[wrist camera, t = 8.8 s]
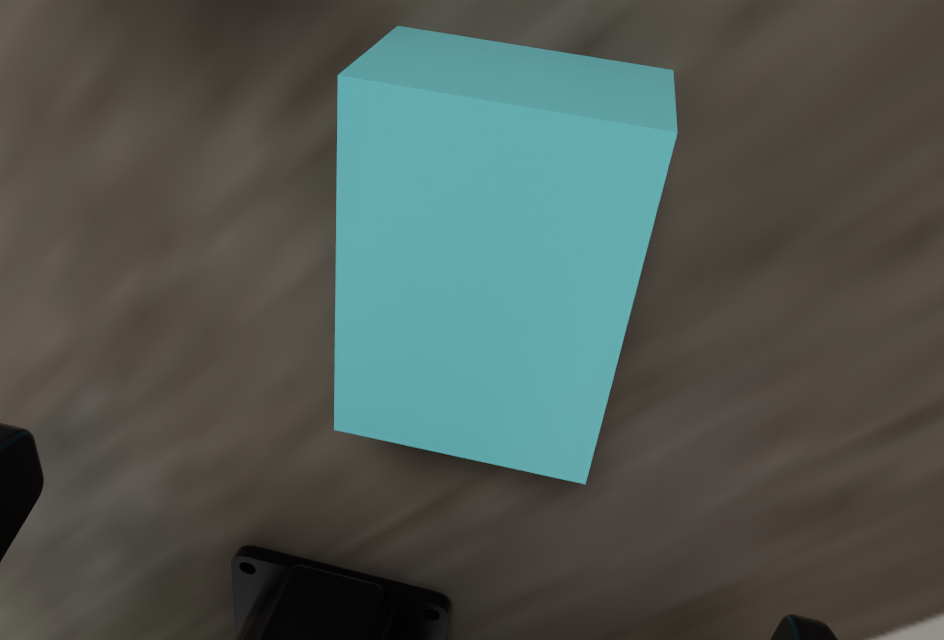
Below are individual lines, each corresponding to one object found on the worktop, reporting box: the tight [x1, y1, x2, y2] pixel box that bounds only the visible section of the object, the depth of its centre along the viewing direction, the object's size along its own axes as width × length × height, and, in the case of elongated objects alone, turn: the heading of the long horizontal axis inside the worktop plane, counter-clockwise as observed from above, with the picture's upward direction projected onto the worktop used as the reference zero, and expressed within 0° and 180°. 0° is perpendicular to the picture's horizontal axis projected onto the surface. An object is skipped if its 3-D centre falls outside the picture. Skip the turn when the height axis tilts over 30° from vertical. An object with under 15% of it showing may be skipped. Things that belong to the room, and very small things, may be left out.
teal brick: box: [334, 26, 678, 484], centre depth 15 cm, size 7×5×4 cm
